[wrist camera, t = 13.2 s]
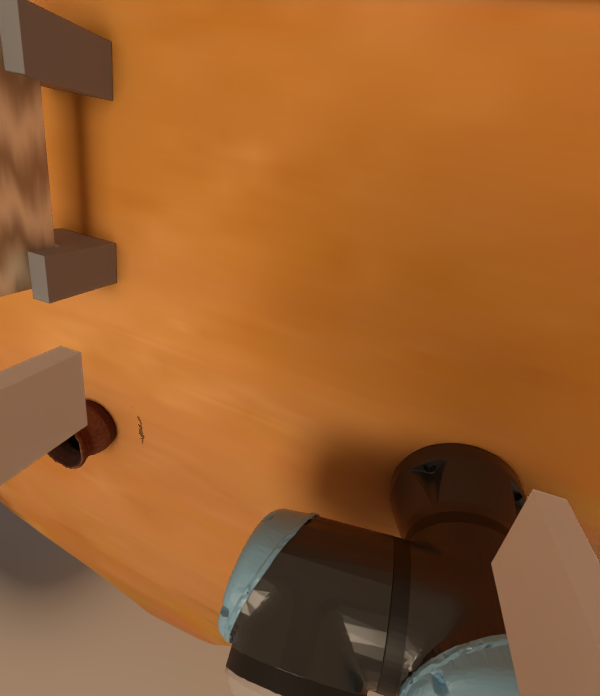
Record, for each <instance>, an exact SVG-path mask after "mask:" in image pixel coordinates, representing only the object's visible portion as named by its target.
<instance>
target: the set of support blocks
mask: <svg viewBox="0 0 600 696" xmlns="http://www.w3.org/2000/svg"><path fill="white" fill-rule="evenodd" d="M0 34H1V42H2V50H3V58H4V66H5V70H6V71H9V72H13V73H16V74H19V75H23V76H26V77H29V78H33V79H36V80H39V81H40V85H41V86H44V87H48V88H52V89H57V90H62V91H67V92H71V93H76V94H81V95H86V96H91V97H96V98H101V99H106V100H111V101H113V88H112V42H110V41H108V40H106V39H104V38H102V37H100V36H98V35H96V34H94V33H92V32H90V31H88V30H86V29H84V28H82V27H80V26H78V25H76V24H74V23H72V22H70V21H68V20H66V19H64V18H62V17H60V16H58V15H56V14H54V13H52V12H50V11H48V10H46V9H44V8H42V7H40V6H38V5H36V4H34V3H32V2H30V1H28V0H0ZM53 231H54V242H55V247H52V248H46V249H39V250H33V251H28V259H29V267H30V275H31V283H32V291H33V299H37V300H40V301H43V302H46V303H52V302H56V301H59V300H62V299H65V298H69V297H72V296H75V295H78V294H82V293H85V292H88V291H91V290H95V289H98V288H101V287H104V286H108V285H111V284H114V283H117V272H116V244H115V243H112V242H108V241H104V240H101V239H97V238H94V237H90V236H86V235H83V234H79V233H75V232H72V231H68V230H65V229H53Z"/></svg>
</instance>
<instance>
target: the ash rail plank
mask: <svg viewBox="0 0 600 696" xmlns="http://www.w3.org/2000/svg"><path fill="white" fill-rule="evenodd" d="M52 247H55V242H54V231H53V220H52V209H51V198H50V186H49V175H48V164H47V153H46V142H45V131H44V120H43V109H42V98H41V87H40V81H39V80H36V79H33V78H29V77H26V76H23V75H19V74H16V73H13V72H9V71H6V70H5V66H4V58H3V50H2V42H1V34H0V297H1V296H5V295H9V294H13V293H17V292H20V291H24V290H28V289H32V283H31V275H30V267H29V259H28V251H33V250H39V249H46V248H52Z"/></svg>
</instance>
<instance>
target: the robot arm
mask: <svg viewBox="0 0 600 696" xmlns="http://www.w3.org/2000/svg"><path fill="white" fill-rule="evenodd" d="M87 425H88V423H87V412H86V401H85V390H84V379H83V369H82V358H81V352H78V351H75V350H72V349H68V348H65V347H62V346H60V347H57V348H55V349H52V350H50V351H48V352H45V353H43V354H41V355H38V356H36V357H33V358H31V359H29V360H26V361H24V362H22V363H19V364H17V365H14V366H12V367H10V368H7V369H5V370H3V371H0V486H1V485H2V484H4V483H5V482H7V481H8V480H10V479H11V478H12V477H14V476H15V475H17V474H18V473H20V472H21V471H22V470H24V469H25V468H27V467H28V466H30V465H31V464H32V463H34V462H35V461H37V460H38V459H40V458H41V457H42V456H44V455H45V454H47V453H48V452H50V451H51V450H52V449H54V448H55V447H57V446H58V445H60V444H61V443H62V442H64V441H65V440H67V439H68V438H70V437H71V436H72V435H74V434H75V433H77V432H78V431H80V430H81V429H82V428H84V427H85V426H87ZM390 501H391V508H392V512H393V514H394V517H395V520H396V523H397V526H398V529H399V531H400V534H401V537H402V538H398V537H394V536H392V535H387V534H383V533H379V532H375V531H371V530H368V529H364V528H360V527H356V526H353V525H349V524H345V523H342V522H338V521H334V520H331V519H327V518H323V517H320V516H319V514H317V513H311V514H307V513H302V512H297V511H292V510H288V509H278V510H275V511H273V512H271V513H270V514H268V515H267V516H266V517H265V518H264V519H263V520H262V521H261V522H260V524H258V526H257V527H256V528H255V530H254V531H253V533H252V534H251V536H250V537H249V539H248V541H247V543H246V545H245V546H244V548H243V550H242V552H241V554H240V556H239V558H238V560H237V563H236V565H235V567H234V570H233V572H232V574H231V577H230V580H229V582H228V585H227V588H226V591H225V594H224V597H223V606H222V609H221V611H220V614H219V621H218V627H219V632H220V634H221V635H222V636H223V637H224V639H225V641H226V642H229V643H232V647H231V650H230V654H229V658H228V661H227V664H226V668H225V673H226V676H227V679H228V682H229V685H230V688H231V690H232V693H233V696H367V692H368V691H369V690H370V691H373V692H376V693H379V694H381V695H384V696H600V563H599V561H598V559H597V557H596V555H595V553H594V551H593V549H592V547H591V545H590V543H589V541H588V539H587V537H586V536H585V534H584V532H583V530H582V528H581V526H580V524H579V522H578V520H577V518H576V516H575V514H574V512H573V510H572V508H571V506H570V505H569V503H568V501H567V499H565V498H561V497H558V496H555V495H551V494H548V493H545V492H541V491H538V490H535V489H533V490H532V491H531V493H530V495H529V497H528V498H527V499H526V496H525V494H524V491H523V488H522V485H521V483H520V481H519V479H518V477H517V475H516V474H515V472H514V471H513V470H512V469H511V468H510V467H509V466H508V465H507V464H506V463H505V462H504V461H502V460H501V459H500V458H498V457H497V456H495V455H493V454H491V453H489V452H487V451H485V450H482V449H479V448H476V447H472V446H468V445H461V444H440V445H434V446H429V447H426V448H423V449H420V450H418V451H416V452H414V453H412V454H411V455H409V456H408V457H407V458H405V459H404V460H403V461H402V462H401V463H400V464H399V466H398V467H397V469H396V470H395V472H394V475H393V477H392V482H391V494H390Z"/></svg>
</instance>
